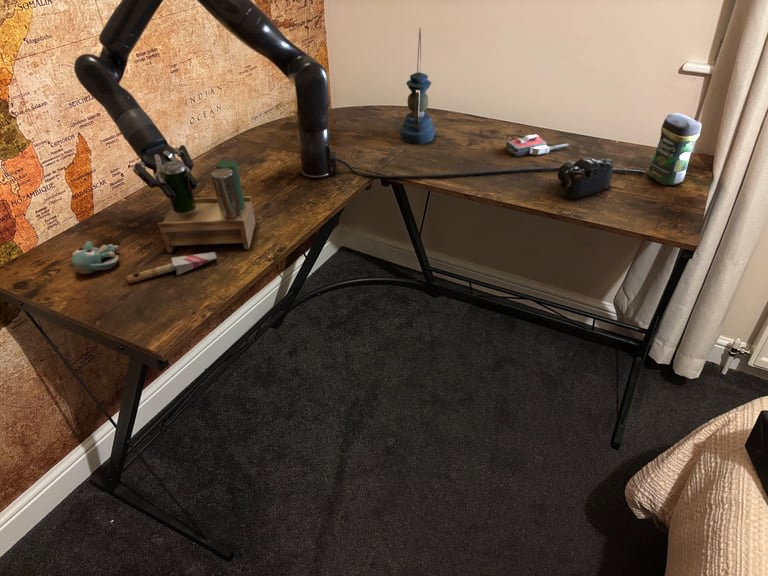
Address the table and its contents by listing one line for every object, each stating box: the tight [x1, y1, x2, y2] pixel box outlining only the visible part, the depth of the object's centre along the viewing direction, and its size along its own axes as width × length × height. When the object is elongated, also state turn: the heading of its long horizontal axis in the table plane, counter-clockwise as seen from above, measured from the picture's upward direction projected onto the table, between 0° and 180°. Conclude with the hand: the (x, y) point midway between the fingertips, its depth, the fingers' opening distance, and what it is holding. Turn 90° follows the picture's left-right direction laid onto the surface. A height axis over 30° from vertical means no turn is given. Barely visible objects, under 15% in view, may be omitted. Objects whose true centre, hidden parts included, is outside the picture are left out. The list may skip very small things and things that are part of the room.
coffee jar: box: [647, 112, 702, 186], centre depth 156 cm, size 10×8×19 cm
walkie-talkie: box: [505, 133, 569, 157], centre depth 177 cm, size 9×4×20 cm
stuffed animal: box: [71, 240, 120, 275], centre depth 130 cm, size 11×7×12 cm
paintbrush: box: [126, 251, 218, 284], centre depth 128 cm, size 4×3×20 cm
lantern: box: [399, 28, 436, 145], centre depth 177 cm, size 14×12×35 cm
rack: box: [158, 158, 257, 253], centre depth 135 cm, size 20×12×19 cm, turn 93°
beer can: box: [162, 159, 196, 215], centre depth 132 cm, size 5×5×12 cm
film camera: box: [557, 156, 615, 200], centre depth 154 cm, size 18×12×10 cm
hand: (184, 192), depth 131 cm, fingers closed on beer can, 5 cm apart
